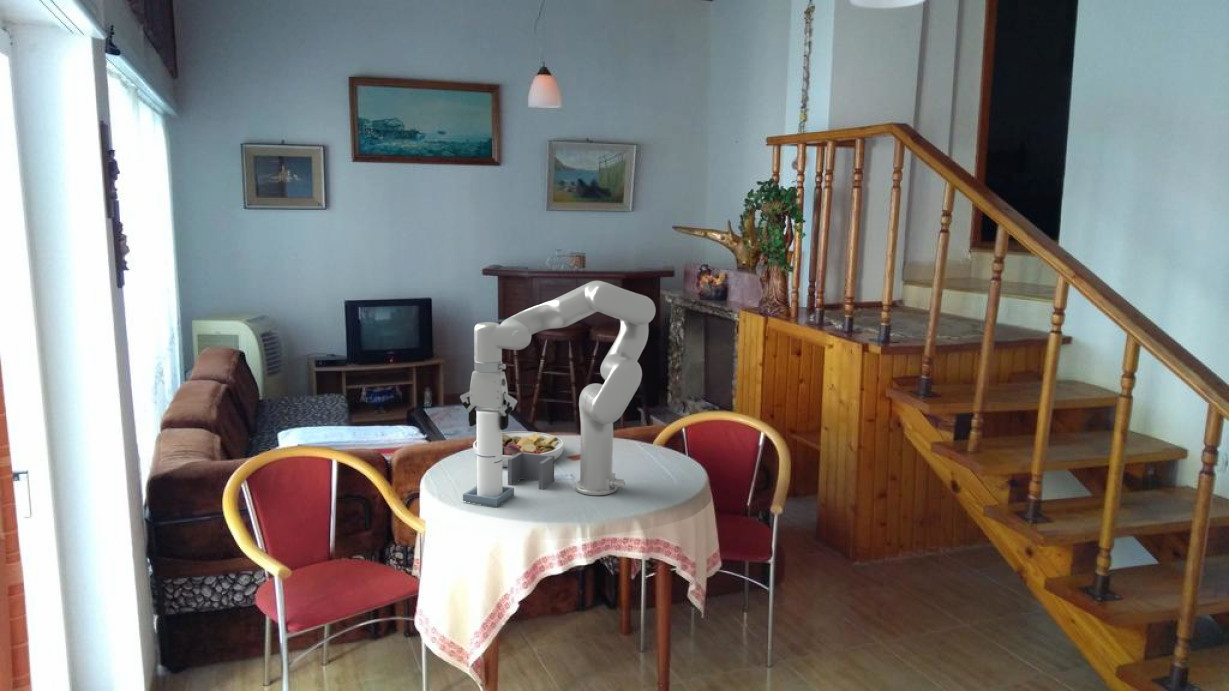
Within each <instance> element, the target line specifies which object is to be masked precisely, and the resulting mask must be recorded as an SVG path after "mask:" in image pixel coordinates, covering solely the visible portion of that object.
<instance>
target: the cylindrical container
mask: <svg viewBox="0 0 1229 691" xmlns="http://www.w3.org/2000/svg"><path fill="white" fill-rule="evenodd" d="M476 415H477V424H476V440H477V456H476V486H477V495H478V496H485V497H492V498H496V497H498V496H499V495H501V494H502V493H503V467H502V432H503V430H501V429H500V416H502V414H501V413H500V411H499V410H498V409H493V408H483V407H480V408H478V409H477V410H476Z"/></svg>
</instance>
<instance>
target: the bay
mask: <svg viewBox="0 0 1229 691" xmlns="http://www.w3.org/2000/svg"><path fill="white" fill-rule="evenodd" d="M522 479H525V480H533V481H537V482H538V490H540V491H541V490H544V489H546V488H547V487H548V486H550V485H551V484H553V483H554V482H555V460H554V456H551V455H543V454H535V453H527V452H519V453H517V454H516V455H514V456H512V457H511V458H509V459H508V468H507V486H513V485H514V484H516V483H517V482H519V481H520V480H522Z"/></svg>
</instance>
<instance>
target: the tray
mask: <svg viewBox="0 0 1229 691" xmlns="http://www.w3.org/2000/svg"><path fill="white" fill-rule="evenodd" d="M514 496H515V487H512V486H503V493H502V494H501V495H499V496H498V497H496V498H492V497H485V496H478V495H477V485H476V486H474V487H472V488H471V489H469V490H468V491H466V492H465V493H462V502H463V501H466V502H470V503H475V504H474V505H476V504H481V505H480V506H483V505H486V506H485V507H489V506H491V508H496V507H497V508H498V507H500V506H501V505H503V504H504V503H506V502H507V501H508V500H510V499H511V498H513V497H514ZM502 503H503V504H502Z"/></svg>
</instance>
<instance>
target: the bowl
mask: <svg viewBox="0 0 1229 691" xmlns="http://www.w3.org/2000/svg"><path fill="white" fill-rule="evenodd" d="M564 447H565V443H564V441H563V440H562V439H561V438H560V437H558V436H555V435H554V434H550V433H549V434H548V433H546V432H545V433H544V432H538V431H537V432H536V431H523V430H522V431H502V468H506V467H507V469H508V459H509V458H511V457H512V456H514V455H516V454H517V453H519V452H527V453H535V454H543V455H551V456H554V461H556V460H557V459H558V458H559V457H560V456H561V455H562V453H563V451H564ZM472 449H473V453H474V455H475V457H477V439H475V441H474V442H473V443H472Z"/></svg>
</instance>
